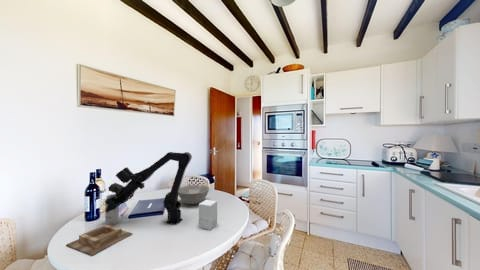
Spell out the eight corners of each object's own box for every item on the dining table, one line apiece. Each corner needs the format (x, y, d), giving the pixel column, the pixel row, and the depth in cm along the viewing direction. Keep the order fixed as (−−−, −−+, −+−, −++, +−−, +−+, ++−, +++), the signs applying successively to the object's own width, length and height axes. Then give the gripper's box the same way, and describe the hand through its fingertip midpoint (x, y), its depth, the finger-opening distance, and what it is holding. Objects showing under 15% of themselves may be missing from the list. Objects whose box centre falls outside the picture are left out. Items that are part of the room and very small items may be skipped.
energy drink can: (103, 223, 104) (103, 196, 104) (115, 219, 109) (115, 193, 109) (108, 226, 101) (108, 198, 101) (120, 222, 106) (120, 195, 106)
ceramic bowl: (206, 209, 125) (206, 193, 125) (171, 208, 126) (171, 193, 125) (211, 197, 147) (211, 184, 147) (181, 197, 148) (181, 184, 148)
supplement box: (217, 224, 104) (217, 201, 104) (209, 230, 98) (210, 205, 98) (206, 221, 108) (206, 199, 107) (198, 227, 101) (198, 203, 101)
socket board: (132, 234, 93) (132, 227, 93) (92, 256, 77) (92, 247, 77) (108, 227, 100) (108, 220, 100) (66, 245, 84) (66, 237, 84)
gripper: (128, 174, 115) (108, 193, 114) (109, 182, 96) (85, 205, 95) (141, 187, 115) (122, 206, 115) (125, 198, 97) (102, 220, 96)
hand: (109, 209), depth 105 cm, fingers closed on energy drink can, 6 cm apart
